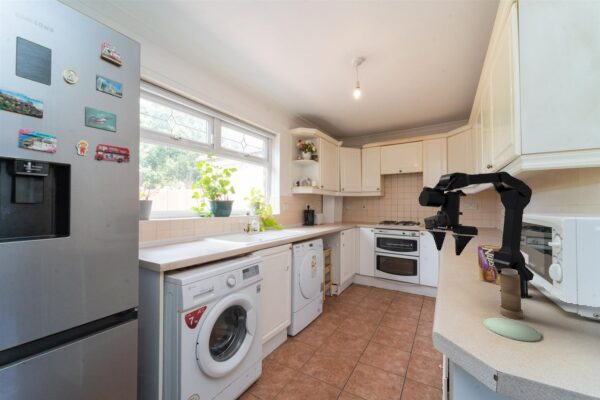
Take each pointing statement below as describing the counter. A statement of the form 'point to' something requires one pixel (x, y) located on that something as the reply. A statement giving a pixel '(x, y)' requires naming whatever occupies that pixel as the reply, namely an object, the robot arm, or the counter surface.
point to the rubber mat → (512, 329)
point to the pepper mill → (510, 294)
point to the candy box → (487, 263)
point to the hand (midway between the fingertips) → (447, 252)
